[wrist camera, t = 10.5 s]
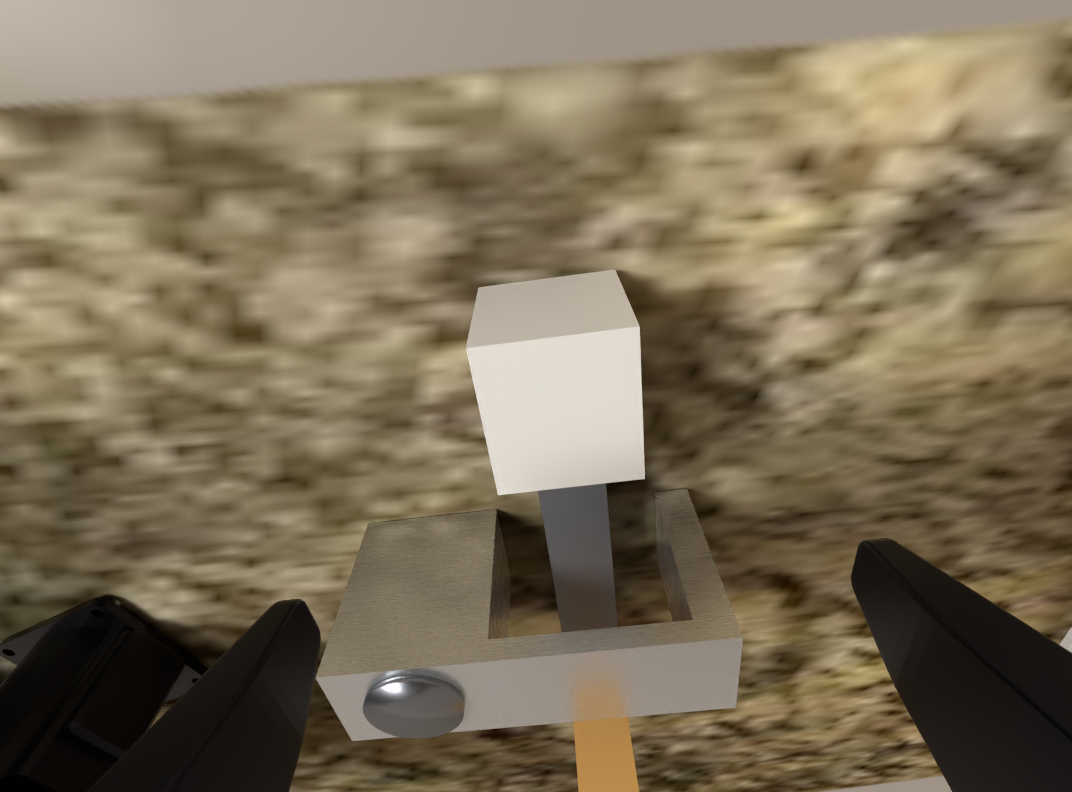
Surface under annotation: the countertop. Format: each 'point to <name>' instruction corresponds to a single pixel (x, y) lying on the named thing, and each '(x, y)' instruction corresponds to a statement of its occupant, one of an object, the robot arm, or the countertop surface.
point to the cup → (1067, 641)
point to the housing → (517, 662)
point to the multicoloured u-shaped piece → (567, 448)
